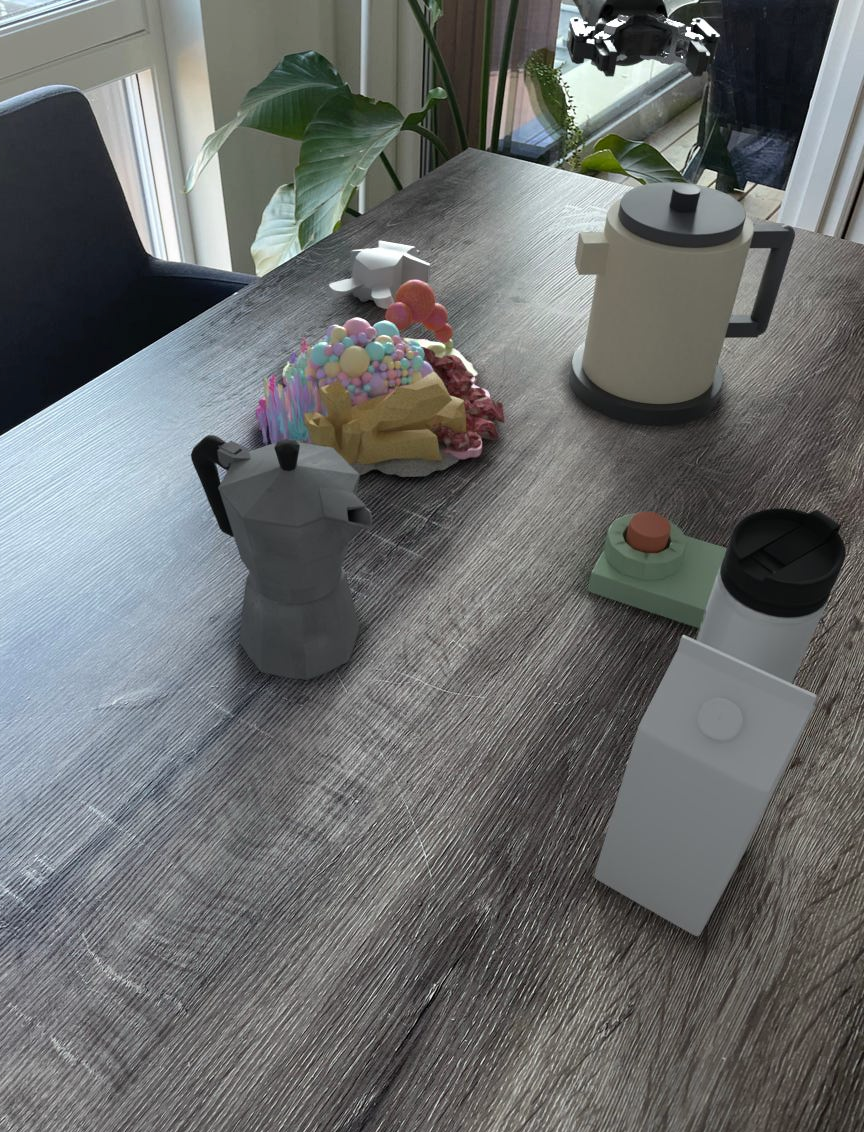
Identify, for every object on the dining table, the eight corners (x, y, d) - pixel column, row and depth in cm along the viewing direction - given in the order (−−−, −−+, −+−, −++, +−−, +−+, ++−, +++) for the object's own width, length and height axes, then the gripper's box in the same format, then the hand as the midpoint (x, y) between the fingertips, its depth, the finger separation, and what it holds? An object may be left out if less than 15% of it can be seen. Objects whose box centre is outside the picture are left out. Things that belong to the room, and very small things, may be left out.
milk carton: (641, 803, 69) (709, 597, 55) (742, 857, 66) (840, 654, 53) (592, 878, 65) (652, 676, 51) (697, 939, 62) (791, 743, 49)
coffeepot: (405, 639, 79) (412, 444, 67) (330, 715, 74) (322, 519, 61) (252, 560, 86) (232, 368, 73) (173, 625, 80) (136, 430, 67)
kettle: (771, 426, 100) (838, 225, 86) (571, 429, 99) (605, 227, 85) (725, 339, 111) (777, 149, 97) (545, 341, 111) (571, 150, 96)
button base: (782, 587, 84) (797, 550, 81) (760, 650, 79) (775, 613, 76) (617, 535, 88) (625, 498, 86) (586, 592, 83) (594, 555, 81)
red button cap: (671, 535, 83) (675, 518, 82) (660, 559, 81) (664, 542, 80) (632, 523, 84) (636, 506, 83) (620, 546, 82) (624, 529, 81)
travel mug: (775, 765, 71) (877, 545, 57) (708, 809, 69) (797, 590, 54) (707, 707, 75) (788, 486, 61) (642, 747, 72) (709, 526, 58)
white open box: (443, 240, 118) (399, 283, 107) (439, 284, 122) (396, 330, 110) (366, 226, 120) (315, 267, 109) (364, 270, 124) (315, 314, 113)
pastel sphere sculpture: (539, 460, 96) (552, 372, 89) (295, 513, 90) (289, 423, 83) (437, 330, 112) (442, 247, 105) (225, 367, 106) (216, 283, 100)
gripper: (560, -28, 106) (589, 21, 95) (696, -27, 107) (741, 21, 96) (550, 53, 112) (576, 107, 101) (680, 53, 112) (720, 107, 101)
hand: (656, 65), depth 98 cm, fingers open, 8 cm apart
